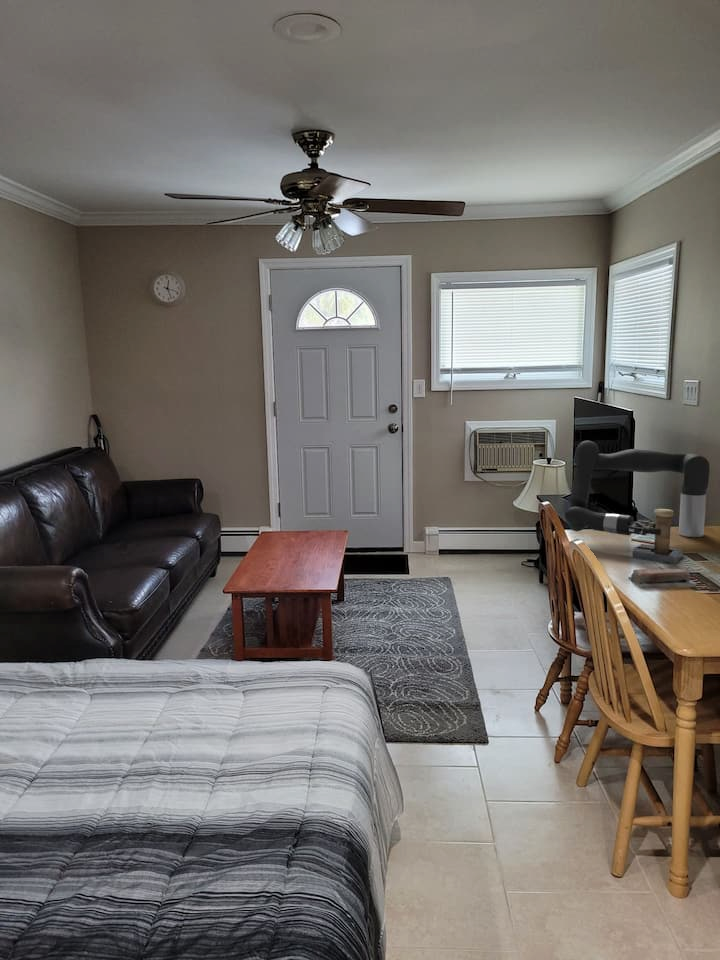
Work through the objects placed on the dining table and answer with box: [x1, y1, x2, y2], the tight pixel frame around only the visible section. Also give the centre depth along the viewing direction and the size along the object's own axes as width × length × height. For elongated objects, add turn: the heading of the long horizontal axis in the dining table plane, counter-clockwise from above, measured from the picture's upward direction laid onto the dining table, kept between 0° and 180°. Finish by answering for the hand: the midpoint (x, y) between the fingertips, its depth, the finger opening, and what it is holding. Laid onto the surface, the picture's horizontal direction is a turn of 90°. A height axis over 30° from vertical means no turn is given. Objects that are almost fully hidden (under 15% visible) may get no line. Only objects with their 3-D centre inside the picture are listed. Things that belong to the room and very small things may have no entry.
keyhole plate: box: [631, 543, 684, 564], centre depth 250 cm, size 12×15×2 cm
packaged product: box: [627, 568, 697, 589], centre depth 221 cm, size 18×5×10 cm
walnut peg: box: [653, 508, 675, 554], centre depth 248 cm, size 6×6×18 cm
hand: (663, 529), depth 247 cm, fingers open, 8 cm apart
